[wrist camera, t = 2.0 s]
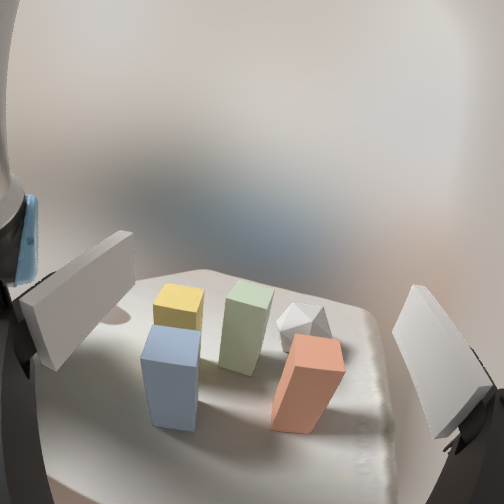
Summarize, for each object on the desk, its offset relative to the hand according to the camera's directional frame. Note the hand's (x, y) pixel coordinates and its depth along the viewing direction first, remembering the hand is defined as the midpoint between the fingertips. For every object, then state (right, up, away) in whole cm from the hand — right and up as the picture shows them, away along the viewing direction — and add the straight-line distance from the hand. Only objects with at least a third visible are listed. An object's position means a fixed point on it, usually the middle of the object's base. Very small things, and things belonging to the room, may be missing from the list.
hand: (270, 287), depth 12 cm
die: (+7, -14, +32) cm, 36 cm away
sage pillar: (-3, -15, +28) cm, 31 cm away
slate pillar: (-10, -18, +17) cm, 27 cm away
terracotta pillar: (+4, -19, +19) cm, 28 cm away
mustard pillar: (-11, -15, +24) cm, 31 cm away
